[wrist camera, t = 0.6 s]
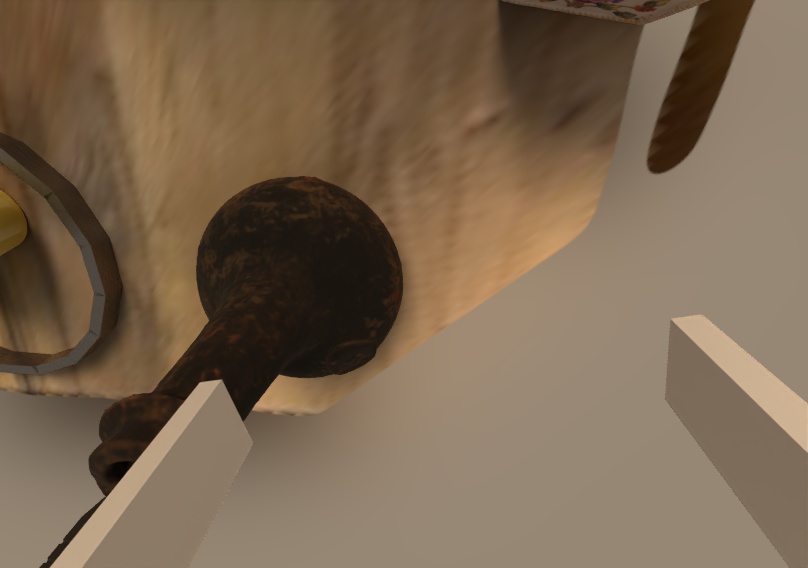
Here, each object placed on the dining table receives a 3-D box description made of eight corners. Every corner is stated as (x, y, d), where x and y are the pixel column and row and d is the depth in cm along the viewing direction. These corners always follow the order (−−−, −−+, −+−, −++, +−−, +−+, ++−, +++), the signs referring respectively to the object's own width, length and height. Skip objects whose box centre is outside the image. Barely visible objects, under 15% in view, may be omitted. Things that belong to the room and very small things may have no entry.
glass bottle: (326, 357, 47) (194, 661, 22) (203, 247, 42) (-149, 468, 17) (444, 264, 41) (454, 531, 16) (316, 124, 37) (36, 181, 11)
